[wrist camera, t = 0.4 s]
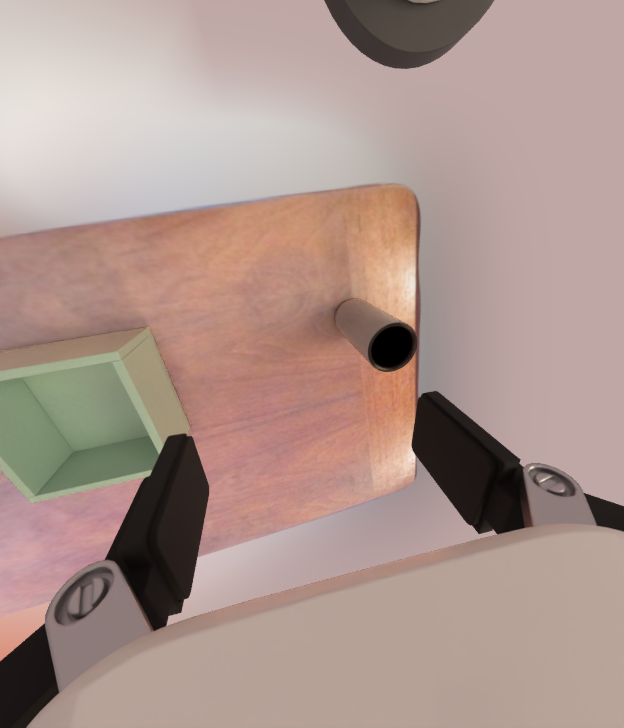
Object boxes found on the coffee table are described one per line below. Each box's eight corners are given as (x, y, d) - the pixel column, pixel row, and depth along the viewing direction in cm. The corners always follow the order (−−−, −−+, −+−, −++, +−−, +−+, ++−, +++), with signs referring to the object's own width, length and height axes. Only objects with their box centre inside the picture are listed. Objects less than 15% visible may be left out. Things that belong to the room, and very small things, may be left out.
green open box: (3, 349, 25) (-79, 384, 19) (149, 326, 27) (117, 351, 21) (75, 452, 31) (30, 503, 25) (191, 427, 33) (175, 470, 27)
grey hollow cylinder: (333, 301, 30) (367, 327, 21) (370, 295, 30) (419, 318, 21) (336, 338, 32) (368, 377, 23) (371, 331, 32) (416, 367, 23)
